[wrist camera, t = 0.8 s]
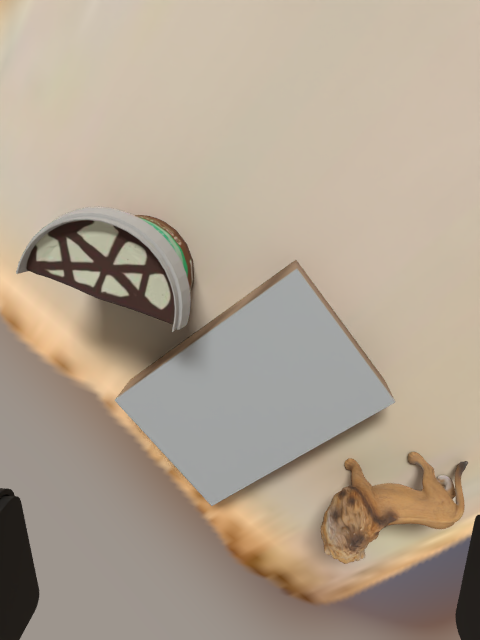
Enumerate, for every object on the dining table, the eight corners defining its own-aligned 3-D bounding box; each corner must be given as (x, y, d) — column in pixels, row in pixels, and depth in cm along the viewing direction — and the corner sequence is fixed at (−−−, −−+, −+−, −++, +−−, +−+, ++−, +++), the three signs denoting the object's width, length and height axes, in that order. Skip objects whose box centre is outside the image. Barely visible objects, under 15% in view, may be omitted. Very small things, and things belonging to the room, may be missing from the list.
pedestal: (296, 259, 36) (297, 269, 32) (384, 380, 39) (395, 402, 35) (130, 380, 41) (114, 400, 38) (218, 477, 44) (211, 505, 40)
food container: (228, 230, 36) (208, 249, 26) (206, 295, 38) (180, 334, 28) (92, 179, 35) (23, 179, 26) (78, 247, 37) (8, 270, 28)
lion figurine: (322, 505, 44) (331, 583, 35) (309, 464, 42) (315, 535, 34) (469, 479, 41) (517, 557, 33) (460, 433, 40) (508, 503, 31)
